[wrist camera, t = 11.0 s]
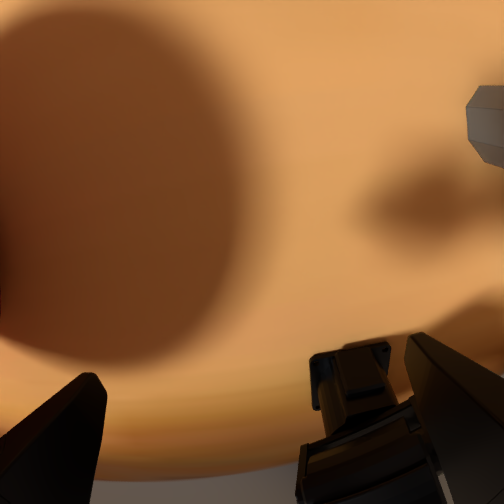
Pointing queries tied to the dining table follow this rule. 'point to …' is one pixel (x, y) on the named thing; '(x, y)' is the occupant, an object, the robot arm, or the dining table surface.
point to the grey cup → (487, 123)
